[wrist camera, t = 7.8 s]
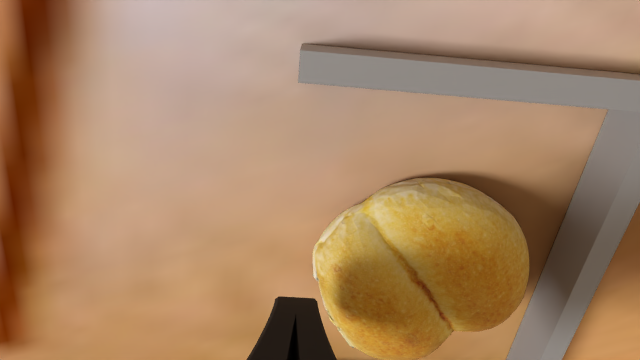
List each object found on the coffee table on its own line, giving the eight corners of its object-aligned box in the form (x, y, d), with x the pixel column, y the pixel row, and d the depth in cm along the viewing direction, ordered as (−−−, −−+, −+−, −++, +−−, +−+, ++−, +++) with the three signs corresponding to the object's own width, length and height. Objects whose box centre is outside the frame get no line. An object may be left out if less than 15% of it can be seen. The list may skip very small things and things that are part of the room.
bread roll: (532, 272, 19) (584, 338, 15) (367, 342, 20) (378, 415, 17) (471, 131, 16) (518, 171, 12) (283, 227, 17) (275, 288, 14)
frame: (513, 384, 22) (702, 749, 11) (281, 372, 21) (247, 746, 10) (649, 75, 14) (1541, 276, 4) (302, 43, 14) (260, 182, 3)
